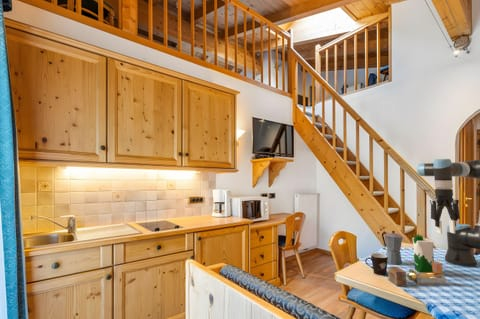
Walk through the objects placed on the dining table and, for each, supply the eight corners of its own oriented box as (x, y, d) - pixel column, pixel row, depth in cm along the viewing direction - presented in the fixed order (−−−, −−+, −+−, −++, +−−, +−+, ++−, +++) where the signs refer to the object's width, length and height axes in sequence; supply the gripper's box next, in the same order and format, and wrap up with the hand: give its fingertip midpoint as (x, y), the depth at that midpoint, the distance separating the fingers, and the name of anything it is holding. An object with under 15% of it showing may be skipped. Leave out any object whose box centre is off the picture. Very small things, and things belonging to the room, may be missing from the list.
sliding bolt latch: (436, 279, 144) (435, 267, 144) (445, 284, 137) (445, 272, 137) (409, 279, 144) (409, 268, 144) (418, 285, 137) (417, 273, 137)
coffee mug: (388, 271, 156) (387, 253, 156) (389, 277, 148) (388, 258, 148) (365, 268, 161) (365, 251, 161) (365, 274, 153) (364, 256, 153)
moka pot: (399, 267, 161) (397, 233, 162) (376, 260, 176) (375, 228, 176) (409, 265, 165) (408, 231, 166) (387, 257, 179) (385, 227, 180)
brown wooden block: (398, 279, 144) (397, 266, 144) (406, 285, 137) (405, 271, 137) (388, 280, 144) (388, 266, 144) (396, 286, 137) (396, 271, 137)
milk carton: (412, 268, 160) (410, 234, 160) (429, 269, 158) (427, 234, 159) (419, 274, 151) (417, 237, 152) (437, 275, 149) (435, 238, 150)
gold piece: (438, 278, 142) (437, 261, 143) (443, 280, 139) (442, 263, 139) (407, 278, 142) (406, 262, 143) (412, 281, 139) (411, 264, 139)
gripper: (456, 187, 146) (458, 230, 145) (420, 188, 146) (422, 231, 145) (467, 188, 139) (470, 234, 138) (430, 189, 139) (432, 235, 138)
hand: (446, 232), depth 141 cm, fingers open, 6 cm apart
